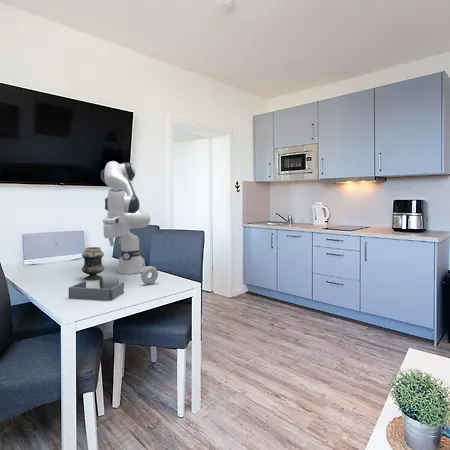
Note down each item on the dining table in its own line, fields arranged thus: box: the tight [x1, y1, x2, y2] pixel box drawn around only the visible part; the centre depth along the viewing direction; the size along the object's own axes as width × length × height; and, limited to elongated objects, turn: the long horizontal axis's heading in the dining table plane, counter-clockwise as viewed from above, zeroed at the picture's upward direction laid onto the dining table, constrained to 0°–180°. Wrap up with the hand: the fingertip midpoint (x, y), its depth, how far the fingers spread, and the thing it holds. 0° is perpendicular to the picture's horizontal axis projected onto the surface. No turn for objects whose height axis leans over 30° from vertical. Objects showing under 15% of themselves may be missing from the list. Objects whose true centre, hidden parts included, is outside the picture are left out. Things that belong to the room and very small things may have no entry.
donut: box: [140, 265, 159, 285], centre depth 178 cm, size 10×4×10 cm, turn 132°
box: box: [68, 280, 125, 301], centre depth 156 cm, size 13×21×5 cm, turn 82°
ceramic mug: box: [98, 275, 120, 289], centre depth 167 cm, size 11×8×8 cm
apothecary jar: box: [81, 246, 105, 281], centre depth 189 cm, size 12×12×18 cm
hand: (116, 245), depth 175 cm, fingers open, 8 cm apart
